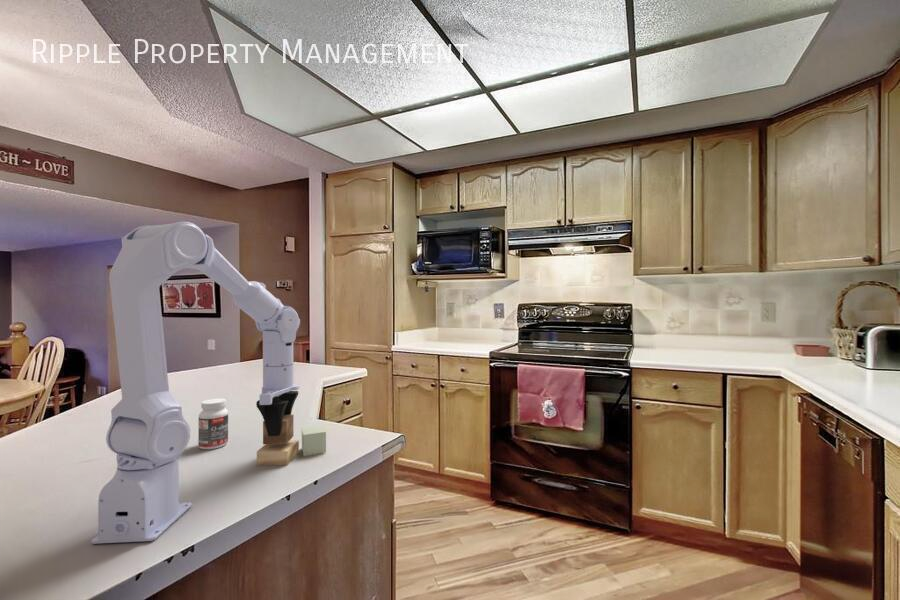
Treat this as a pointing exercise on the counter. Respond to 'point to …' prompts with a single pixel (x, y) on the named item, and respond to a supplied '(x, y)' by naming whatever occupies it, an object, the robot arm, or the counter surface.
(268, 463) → the oak block
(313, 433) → the sage block
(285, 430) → the walnut cube
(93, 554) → the counter surface
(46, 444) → the counter surface
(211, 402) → the pill bottle
